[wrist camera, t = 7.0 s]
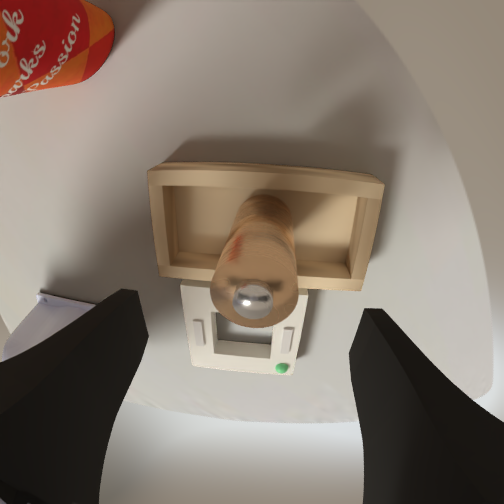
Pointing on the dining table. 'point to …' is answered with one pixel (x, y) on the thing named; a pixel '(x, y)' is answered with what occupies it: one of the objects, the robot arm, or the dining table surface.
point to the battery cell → (257, 265)
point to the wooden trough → (275, 184)
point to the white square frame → (238, 353)
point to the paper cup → (51, 43)
